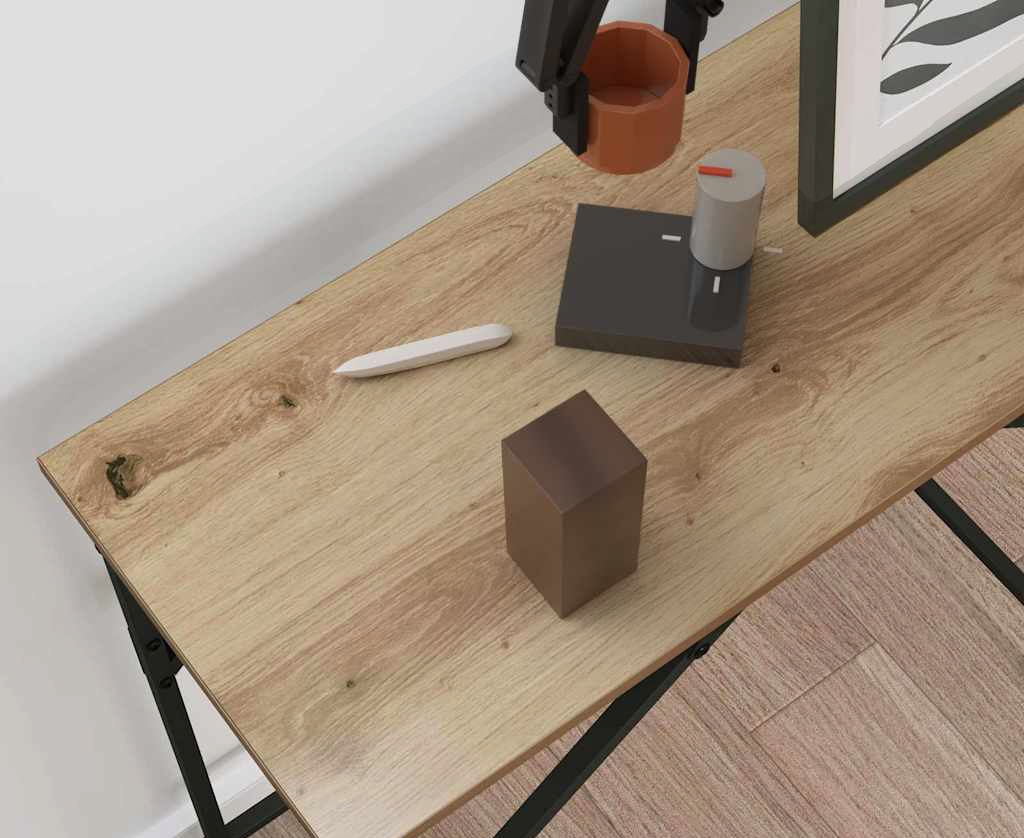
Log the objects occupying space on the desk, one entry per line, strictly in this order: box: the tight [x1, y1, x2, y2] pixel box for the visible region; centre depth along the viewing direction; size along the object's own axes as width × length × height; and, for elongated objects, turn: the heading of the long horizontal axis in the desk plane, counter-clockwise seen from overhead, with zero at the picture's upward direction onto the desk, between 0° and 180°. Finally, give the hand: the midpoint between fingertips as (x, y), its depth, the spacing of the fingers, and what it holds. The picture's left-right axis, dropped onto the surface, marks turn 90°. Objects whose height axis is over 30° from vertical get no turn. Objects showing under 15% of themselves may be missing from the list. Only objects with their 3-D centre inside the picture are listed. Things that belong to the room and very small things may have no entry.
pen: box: [332, 323, 514, 378], centre depth 122 cm, size 2×14×2 cm, turn 106°
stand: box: [500, 388, 649, 620], centre depth 107 cm, size 7×7×15 cm
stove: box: [554, 202, 783, 369], centre depth 124 cm, size 16×14×3 cm
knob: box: [689, 148, 768, 270], centre depth 120 cm, size 5×5×8 cm
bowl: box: [569, 20, 690, 176], centre depth 104 cm, size 8×8×6 cm
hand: (624, 110), depth 105 cm, fingers closed on bowl, 8 cm apart
